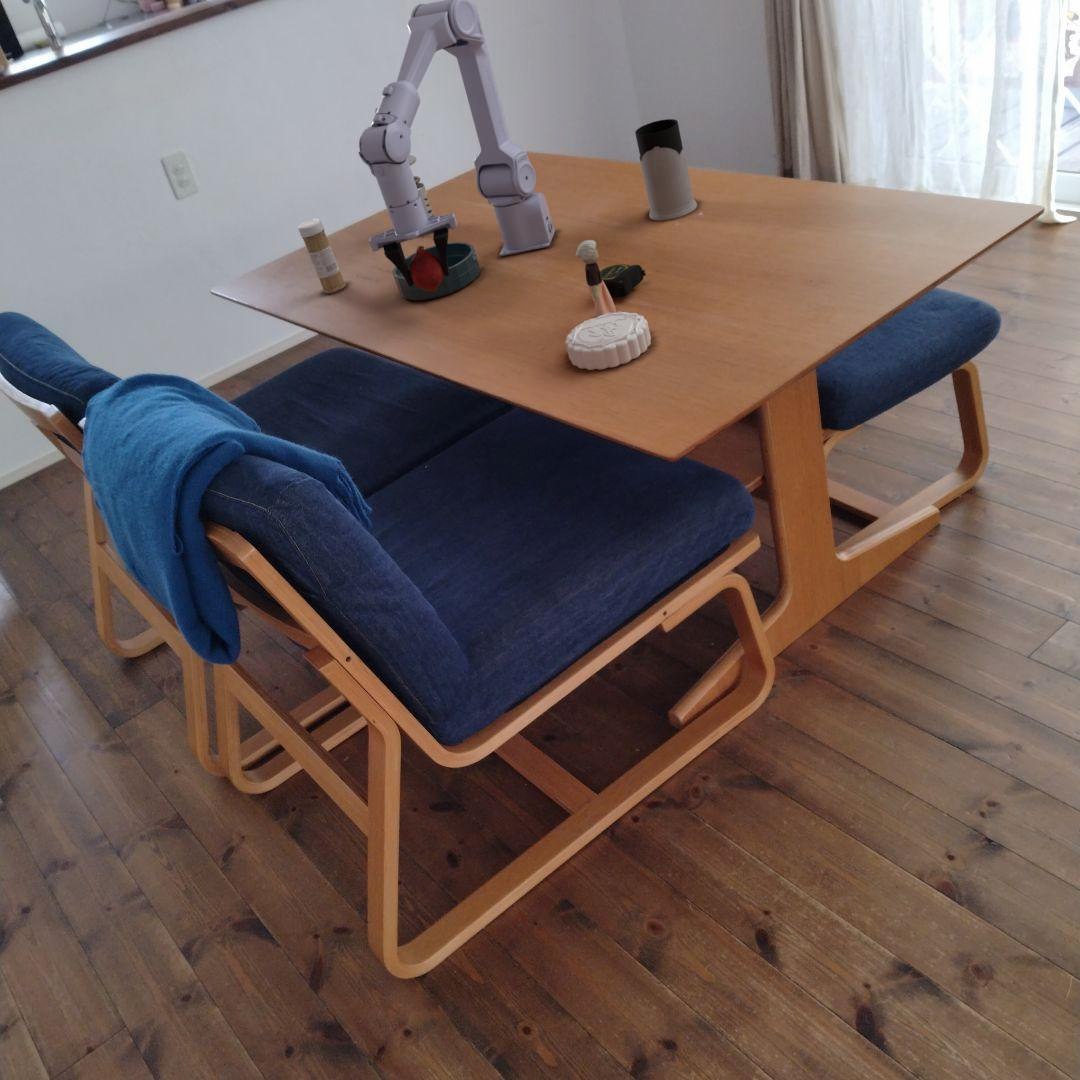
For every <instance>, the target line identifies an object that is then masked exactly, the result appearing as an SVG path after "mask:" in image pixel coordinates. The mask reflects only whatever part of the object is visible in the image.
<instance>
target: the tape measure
mask: <svg viewBox="0 0 1080 1080" xmlns="http://www.w3.org/2000/svg"><path fill="white" fill-rule="evenodd" d="M600 273H601V277H602V280H603V282H604V284H605V285H606V287H607V289H608V291H609V294H610V296H611V298H612V300H613V299H620V298H624V297H627V296H629V294H631V292H632V291H633V290H634V289H635V288H636V287H637V286H638V285H639V284H641V283H642V282H643V280H644V277H646V270H645V269H643V268H642V266H641V265H640V264H632V265H629V264H626V263H625V264H624V263H620V264H619V263H618V264H613V265H609V266H606V267H604V268H602V269H601V270H600Z"/></svg>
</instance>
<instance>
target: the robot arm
mask: <svg viewBox="0 0 1080 1080" xmlns="http://www.w3.org/2000/svg"><path fill="white" fill-rule="evenodd" d="M407 29H408V33H409V38H408V42H407V45H406V49H405V52H404V55H403V59H402V62H401V65H400V68H399V71H398V76H397V79H396V81H393V82H390V83H388V84H387V85H386V86H385V87H383V90H382V97H381V100H380V102H379V104H378V107H377V108H378V110H377V112H376V114H375V115H374V116H373V119H372V123H371V126H368V127H367V128H365V129H364V130H363V132H362V133H361V135H360V137H359V141H358V146H359V147H358V148H359V151H358V155H359V158H360V159H361V161H362V162H363V163H364V164H365V165H367V166H368V168H369V170H370V173H371V175H373V177H374V178H375V179H376V182H377V185H378V188H379V190H380V193H381V196H382V199H383V202H384V205H385V208H386V210H387V214H388V216H389V219H390V222H391V225H392V227H393V228H390V229H389V230H386V231H383V232H381V233H379V234H375V235H373V236H370V237H369V244H370V248H371V250H372V252H376V251H380V249H383V252H384V256H385V257H386V258H387V260H388V261H390V263H392V264H393V265H394V267H395V266H396V267H397V268H398V269H399V271H400V272H401V273H402V275H403V276H404V278H405V279H406V281H407V283H408V285H409V286H413V281H412V279H411V277H410V270H409V267H408V265H407V263H406V260H405V258H406V257H405V254H404V250H403V247H402V243H404V242H408V241H411V240H414V239H418V238H421V237H426V236H430V235H433V236H432V237H433V238H432V240H433V243H434V246H436V248H437V251H438V253H439V256H440V259H441V263H442V267H443V271H444V274H445V276H448V275H449V272H450V271H449V267H448V260H447V243H449V229H450V230H454V229H457V228H458V221H457V218H456V214H455V213H454V212H452V213H448V214H444V215H437V216H434V217H432V218H427V217H426V213H425V210H424V207H423V204H422V201H421V198H420V195H419V192H418V190H419V189H417V186H416V183H415V180H414V174H413V171H412V169H411V166H410V165H409V162H408V159H407V157H408V155H411V151H412V142H411V135H412V130H411V128H412V125H413V123H414V121H415V120H414V119H415V117H416V114H417V112H418V109H419V107H420V104H421V97H420V94H419V92H418V89H419V87H420V86H421V83H422V81H423V79H424V76H425V75H426V73H427V71H428V68H429V67H430V64H431V62H432V60H433V58H434V56H435V54H436V52H438V51H440V50H443V51H445V52H447V53H448V54H450V55H452V56H454V58H456V61H457V64H458V68H459V72H460V75H461V79H462V83H463V87H464V91H465V94H466V98H467V102H468V105H469V109H470V113H471V117H472V121H473V124H474V129H475V132H476V135H477V140H478V143H479V147H480V151H479V153H478V154H477V155H476V157H475V159H474V161H473V165H474V168H475V185H476V188H477V191H478V193H479V194H480V196H481V197H482V198H484V199H486V200H487V203H488V205H492V208H493V212H494V215H495V218H496V222H497V225H498V229H499V231H500V236H501V239H502V242H503V246H502V248H501V250H500V252H499V256H500V257H505V256H509V255H514V254H520V253H525V252H530V251H535V250H539V249H545V248H548V247H550V245H551V243H552V240H553V238H554V235H555V233H556V229H555V227H554V225H553V220H552V217H551V212H550V210H549V206H548V205H549V204H548V202H547V198H546V196H545V195H544V193H543V192H534V190H535V187H536V184H537V175H536V171H535V168H534V166H533V165H532V163H531V162H530V159H529V156H528V153H527V150H526V149H524V148H523V147H521V146H519V145H518V144H517V143H515V142H513V141H512V139H511V137H510V134H509V130H508V126H507V122H506V118H505V114H504V109H503V106H502V101H501V98H500V94H499V90H498V85H497V81H496V78H495V74H494V70H493V66H492V62H491V58H490V54H489V49H488V45H487V42H486V38H485V34H484V31H483V26H482V22H481V18H480V14H479V10H478V6H477V4H476V3H474V2H473V1H471V0H439V1H434V2H428V3H419V4H417V5H415V6H414V8H413V9H412V11H411V13H410V18H409V20H408V22H407Z"/></svg>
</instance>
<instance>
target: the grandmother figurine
mask: <svg viewBox="0 0 1080 1080" xmlns="http://www.w3.org/2000/svg"><path fill="white" fill-rule="evenodd" d="M575 257H576V258H578V259H579V258H580V259H581V261H582V263H584V265H585V266H584V271H585V272H584V273H585V281H586V284H587V286H588V290H589V293H590V295H591V298H592V300H593V303H594V307H595V318H597V317H599V316H601V315H604V314H606V313H616V312H617V308H616V306H615V303H614V300H613V299H612V298H611V296H610V294H609V291H608V289H607V287H606V285H605V284H604V282H603V280H602V277H601V273H600V271H601V270H600V267H599V264H598V263H597V261H598V260H599V257H600V255H599V252H598V249H597V242H596V241H595V240H593V239H588V240H583V241H581V243H579V245H578V247H577V250H576V253H575Z"/></svg>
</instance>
